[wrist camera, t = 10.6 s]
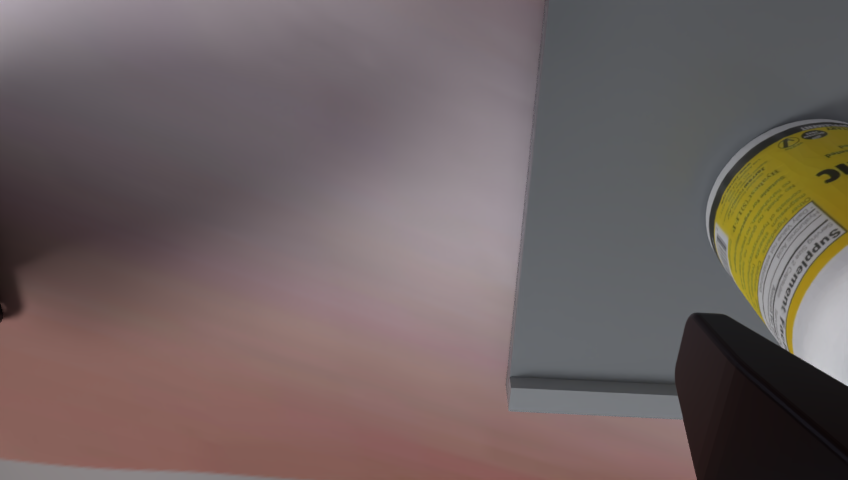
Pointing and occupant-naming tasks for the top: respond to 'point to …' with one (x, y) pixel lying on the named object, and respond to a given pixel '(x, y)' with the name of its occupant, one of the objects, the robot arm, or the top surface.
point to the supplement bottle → (790, 236)
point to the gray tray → (647, 183)
